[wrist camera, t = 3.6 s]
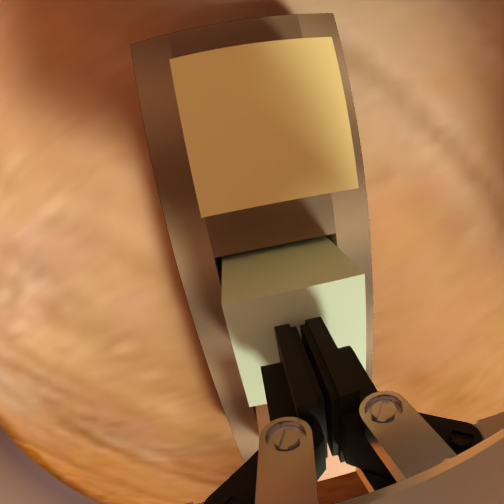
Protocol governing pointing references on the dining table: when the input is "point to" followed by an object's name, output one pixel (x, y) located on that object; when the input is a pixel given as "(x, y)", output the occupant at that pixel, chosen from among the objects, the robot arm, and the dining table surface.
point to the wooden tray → (246, 220)
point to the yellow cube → (264, 123)
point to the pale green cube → (289, 302)
